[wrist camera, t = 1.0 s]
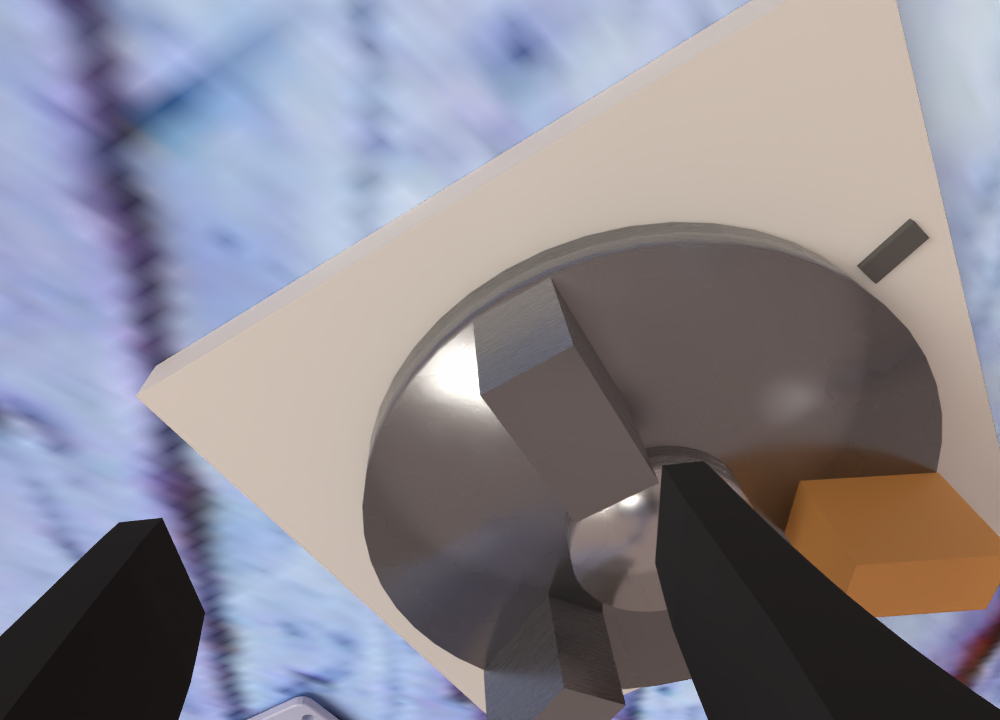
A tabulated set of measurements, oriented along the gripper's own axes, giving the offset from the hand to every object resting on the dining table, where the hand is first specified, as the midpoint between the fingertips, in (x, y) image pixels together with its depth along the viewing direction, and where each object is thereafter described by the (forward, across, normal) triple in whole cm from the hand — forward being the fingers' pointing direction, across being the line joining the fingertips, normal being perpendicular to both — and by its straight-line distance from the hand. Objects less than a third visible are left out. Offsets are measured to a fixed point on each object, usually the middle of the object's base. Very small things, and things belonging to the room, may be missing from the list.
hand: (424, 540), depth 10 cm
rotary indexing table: (+8, -6, +7) cm, 12 cm away
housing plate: (+10, -6, +7) cm, 13 cm away
